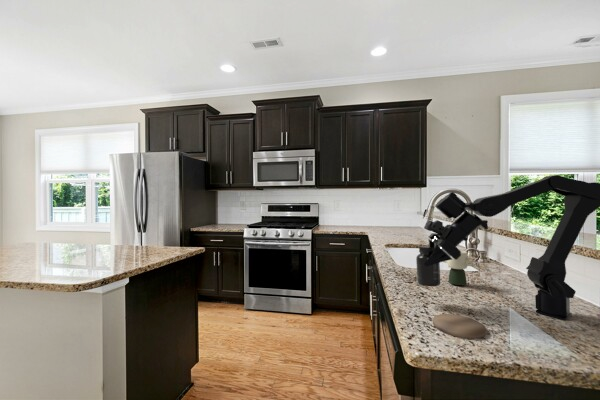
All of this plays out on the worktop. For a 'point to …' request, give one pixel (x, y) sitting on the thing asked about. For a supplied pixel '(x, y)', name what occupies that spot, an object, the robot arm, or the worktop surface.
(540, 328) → the worktop surface
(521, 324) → the worktop surface
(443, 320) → the walnut trivet
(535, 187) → the robot arm
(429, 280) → the supplement bottle
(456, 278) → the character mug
